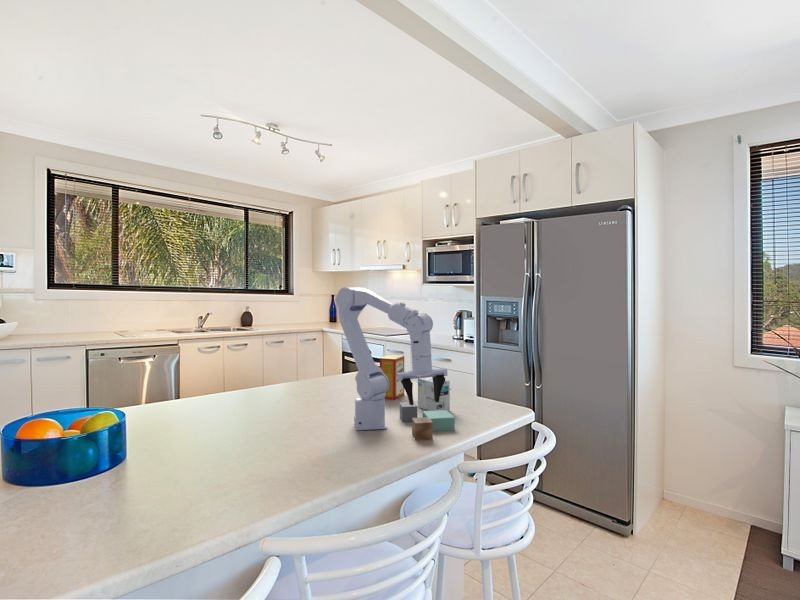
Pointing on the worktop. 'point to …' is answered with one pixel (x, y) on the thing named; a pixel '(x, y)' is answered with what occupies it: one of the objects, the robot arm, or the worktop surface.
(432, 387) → the light bulb box
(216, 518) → the worktop surface
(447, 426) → the teal base block
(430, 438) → the walnut cube
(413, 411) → the slate cube
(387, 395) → the baking soda box
